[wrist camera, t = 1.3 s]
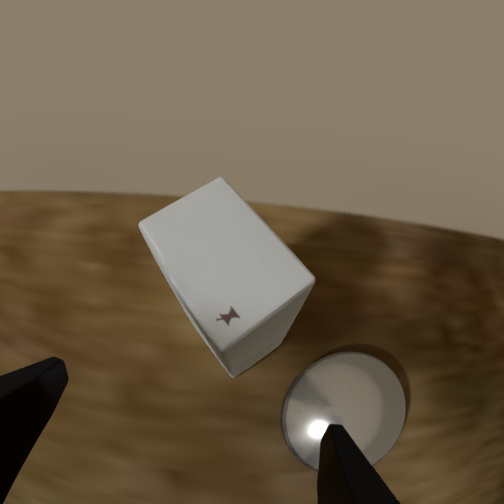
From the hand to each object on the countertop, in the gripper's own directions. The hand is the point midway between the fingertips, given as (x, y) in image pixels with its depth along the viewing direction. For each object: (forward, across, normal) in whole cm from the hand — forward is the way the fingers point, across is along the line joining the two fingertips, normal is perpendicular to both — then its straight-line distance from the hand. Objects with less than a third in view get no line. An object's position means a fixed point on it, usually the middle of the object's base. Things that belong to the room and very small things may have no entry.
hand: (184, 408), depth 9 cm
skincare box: (+12, 0, +5) cm, 13 cm away
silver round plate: (+9, -9, +8) cm, 15 cm away
